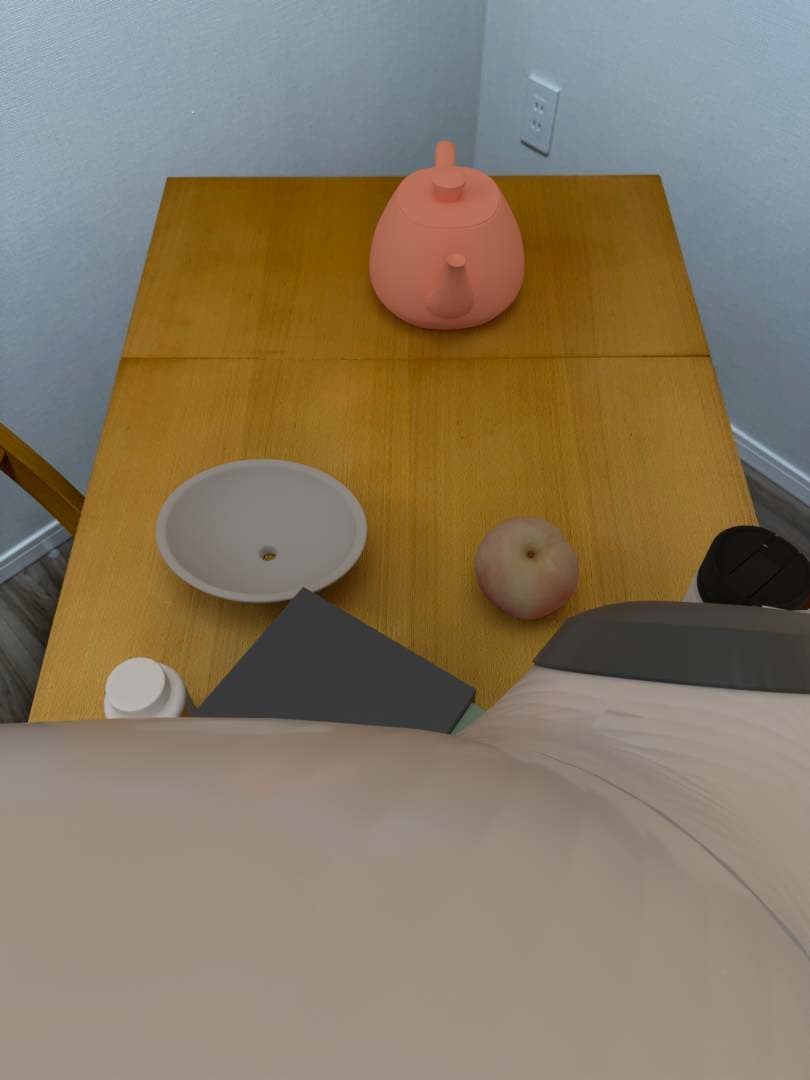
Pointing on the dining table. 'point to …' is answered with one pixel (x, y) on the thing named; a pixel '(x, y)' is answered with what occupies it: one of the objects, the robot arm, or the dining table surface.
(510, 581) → the fruit
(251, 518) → the dish
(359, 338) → the dining table surface
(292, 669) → the cabinet
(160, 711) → the supplement bottle
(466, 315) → the teapot
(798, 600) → the travel mug
